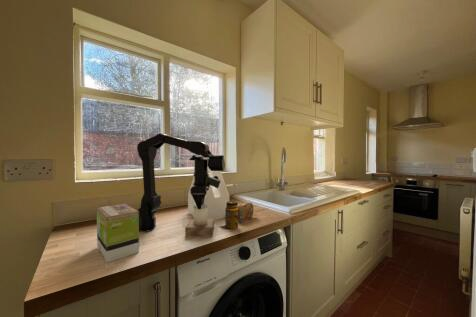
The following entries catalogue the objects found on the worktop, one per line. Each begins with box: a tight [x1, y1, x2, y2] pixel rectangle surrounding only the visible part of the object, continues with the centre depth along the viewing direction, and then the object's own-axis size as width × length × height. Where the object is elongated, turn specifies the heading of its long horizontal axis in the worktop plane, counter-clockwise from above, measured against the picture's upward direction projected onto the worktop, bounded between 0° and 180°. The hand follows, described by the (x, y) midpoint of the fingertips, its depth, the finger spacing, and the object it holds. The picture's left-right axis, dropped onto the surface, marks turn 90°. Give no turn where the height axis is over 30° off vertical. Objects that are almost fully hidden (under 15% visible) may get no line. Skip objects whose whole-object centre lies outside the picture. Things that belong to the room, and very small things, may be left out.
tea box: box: [96, 203, 140, 263], centre depth 72 cm, size 15×10×15 cm, turn 45°
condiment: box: [218, 200, 242, 233], centre depth 95 cm, size 7×8×12 cm
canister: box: [193, 204, 208, 225], centre depth 90 cm, size 6×6×8 cm
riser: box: [184, 218, 215, 238], centre depth 90 cm, size 11×11×4 cm
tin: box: [237, 202, 254, 223], centre depth 108 cm, size 15×3×8 cm, turn 148°
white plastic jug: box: [187, 170, 230, 220], centre depth 117 cm, size 19×15×25 cm
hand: (200, 206), depth 90 cm, fingers open, 9 cm apart
